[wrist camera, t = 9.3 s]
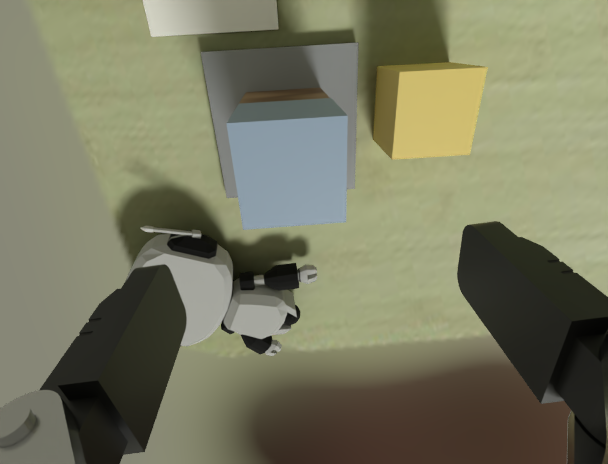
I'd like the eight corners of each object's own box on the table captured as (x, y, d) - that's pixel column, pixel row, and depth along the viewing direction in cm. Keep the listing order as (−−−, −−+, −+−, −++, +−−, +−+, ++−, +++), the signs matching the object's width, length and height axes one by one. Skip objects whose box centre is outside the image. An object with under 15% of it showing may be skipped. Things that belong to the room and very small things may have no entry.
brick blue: (331, 97, 18) (347, 115, 14) (332, 184, 21) (346, 222, 16) (238, 103, 18) (226, 123, 14) (250, 189, 21) (243, 229, 16)
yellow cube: (448, 62, 23) (487, 67, 19) (437, 135, 26) (469, 154, 21) (377, 66, 23) (399, 71, 19) (372, 139, 26) (391, 159, 21)
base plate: (355, 42, 22) (358, 42, 21) (352, 184, 27) (354, 188, 26) (203, 51, 22) (200, 52, 21) (228, 194, 27) (226, 198, 26)
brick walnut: (320, 87, 23) (330, 98, 18) (322, 159, 25) (331, 184, 21) (246, 92, 22) (238, 104, 18) (255, 164, 25) (250, 190, 21)
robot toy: (319, 246, 31) (147, 200, 27) (329, 276, 27) (130, 229, 23) (275, 337, 36) (126, 311, 32) (278, 373, 33) (109, 350, 28)
